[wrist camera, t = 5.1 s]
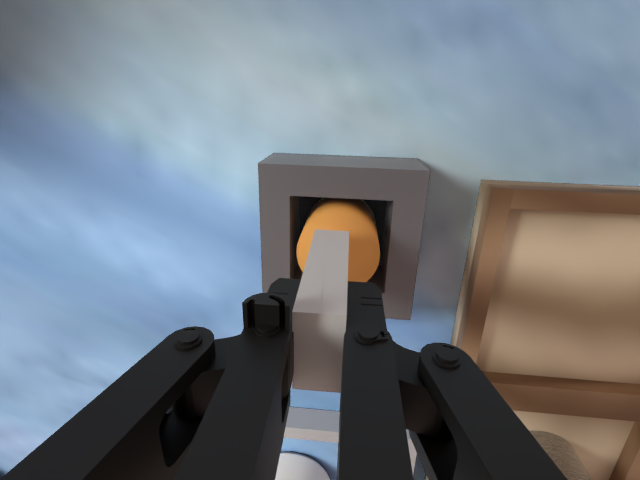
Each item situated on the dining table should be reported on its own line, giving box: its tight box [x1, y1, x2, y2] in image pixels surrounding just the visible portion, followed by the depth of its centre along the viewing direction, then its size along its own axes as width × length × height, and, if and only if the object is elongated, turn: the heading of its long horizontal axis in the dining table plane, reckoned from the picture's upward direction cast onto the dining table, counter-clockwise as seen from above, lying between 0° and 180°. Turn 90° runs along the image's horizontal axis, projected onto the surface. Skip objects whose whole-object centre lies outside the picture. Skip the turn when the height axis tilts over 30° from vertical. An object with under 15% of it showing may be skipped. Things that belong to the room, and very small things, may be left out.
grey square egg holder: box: [258, 153, 430, 320], centre depth 20 cm, size 8×8×4 cm
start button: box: [297, 197, 380, 282], centre depth 20 cm, size 4×4×4 cm
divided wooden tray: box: [425, 180, 640, 480], centre depth 23 cm, size 26×13×2 cm, turn 179°
